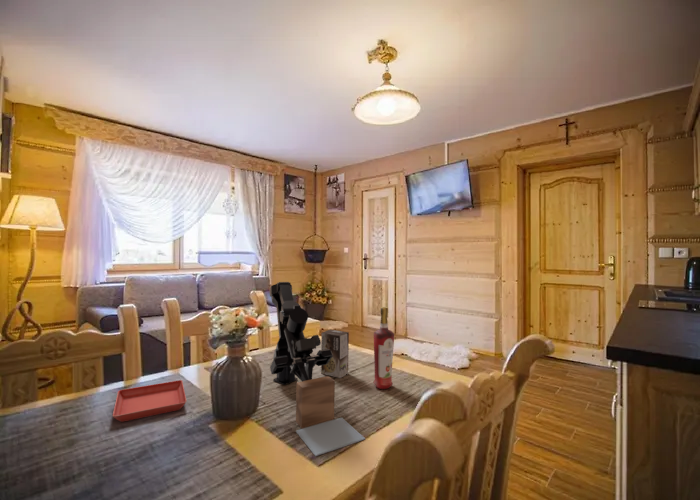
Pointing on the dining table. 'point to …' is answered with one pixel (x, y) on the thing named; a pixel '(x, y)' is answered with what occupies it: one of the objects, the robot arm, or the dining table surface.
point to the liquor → (383, 353)
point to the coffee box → (336, 352)
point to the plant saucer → (149, 400)
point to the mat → (329, 436)
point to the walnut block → (315, 401)
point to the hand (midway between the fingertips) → (310, 387)
